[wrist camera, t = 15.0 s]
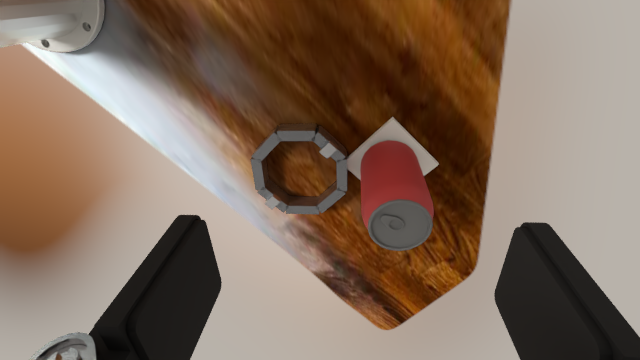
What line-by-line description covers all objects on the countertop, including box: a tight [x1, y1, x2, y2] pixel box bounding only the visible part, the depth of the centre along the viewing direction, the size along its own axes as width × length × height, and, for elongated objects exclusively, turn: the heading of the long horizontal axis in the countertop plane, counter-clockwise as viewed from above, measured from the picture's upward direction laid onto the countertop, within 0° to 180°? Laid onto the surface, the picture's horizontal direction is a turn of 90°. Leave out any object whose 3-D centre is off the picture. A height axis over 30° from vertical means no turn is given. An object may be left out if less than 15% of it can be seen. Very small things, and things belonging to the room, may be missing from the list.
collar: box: [251, 124, 347, 214], centre depth 40 cm, size 11×12×3 cm
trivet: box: [347, 117, 439, 180], centre depth 40 cm, size 8×8×1 cm
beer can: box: [360, 140, 434, 251], centre depth 34 cm, size 7×7×12 cm
